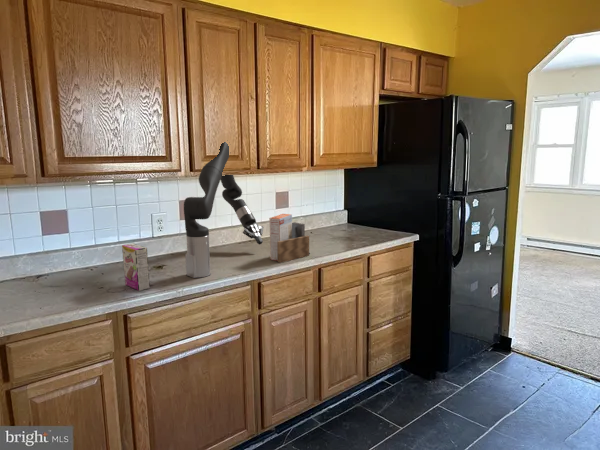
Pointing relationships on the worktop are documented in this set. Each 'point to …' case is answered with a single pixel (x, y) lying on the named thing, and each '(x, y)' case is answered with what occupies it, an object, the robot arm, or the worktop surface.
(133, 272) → the candy bar box
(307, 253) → the shelf wall
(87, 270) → the worktop surface
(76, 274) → the worktop surface
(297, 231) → the bookend
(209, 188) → the robot arm
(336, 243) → the worktop surface
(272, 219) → the cracker box
